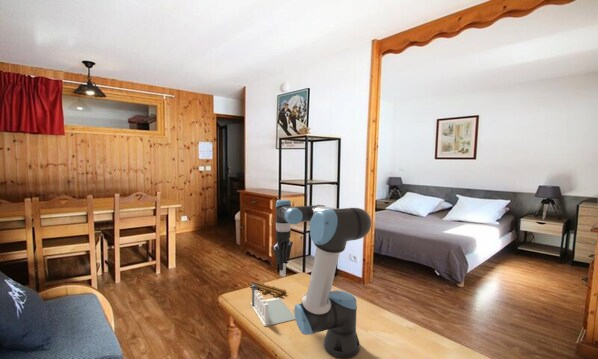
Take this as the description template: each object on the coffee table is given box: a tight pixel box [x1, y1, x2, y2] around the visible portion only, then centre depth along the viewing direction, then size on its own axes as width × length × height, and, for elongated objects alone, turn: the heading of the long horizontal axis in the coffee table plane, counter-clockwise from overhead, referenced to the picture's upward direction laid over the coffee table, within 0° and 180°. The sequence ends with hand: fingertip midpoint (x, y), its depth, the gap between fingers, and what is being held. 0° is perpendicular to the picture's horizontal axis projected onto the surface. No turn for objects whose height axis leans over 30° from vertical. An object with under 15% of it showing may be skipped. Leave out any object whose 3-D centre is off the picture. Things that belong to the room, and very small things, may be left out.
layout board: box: [249, 296, 296, 327], centre depth 157 cm, size 25×17×1 cm
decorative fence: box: [247, 280, 287, 298], centre depth 180 cm, size 25×2×10 cm
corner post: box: [250, 284, 258, 307], centre depth 161 cm, size 3×3×12 cm
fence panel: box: [254, 289, 269, 323], centre depth 151 cm, size 18×2×9 cm, turn 26°
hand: (282, 275), depth 152 cm, fingers closed
